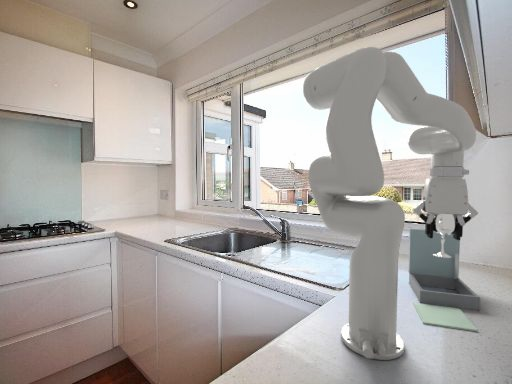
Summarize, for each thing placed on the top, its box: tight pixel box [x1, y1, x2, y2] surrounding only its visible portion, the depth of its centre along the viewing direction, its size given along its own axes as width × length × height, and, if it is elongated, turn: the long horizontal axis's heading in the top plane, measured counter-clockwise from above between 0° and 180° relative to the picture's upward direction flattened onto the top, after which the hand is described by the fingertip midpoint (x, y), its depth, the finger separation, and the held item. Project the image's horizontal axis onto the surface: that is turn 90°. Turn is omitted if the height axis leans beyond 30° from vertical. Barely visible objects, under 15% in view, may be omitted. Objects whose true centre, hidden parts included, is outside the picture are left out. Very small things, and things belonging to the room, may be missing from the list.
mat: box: [412, 302, 478, 333], centre depth 70 cm, size 11×11×1 cm
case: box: [408, 227, 481, 311], centre depth 82 cm, size 16×14×18 cm
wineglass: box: [432, 214, 456, 258], centre depth 76 cm, size 6×6×12 cm
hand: (443, 237), depth 76 cm, fingers closed on wineglass, 5 cm apart
